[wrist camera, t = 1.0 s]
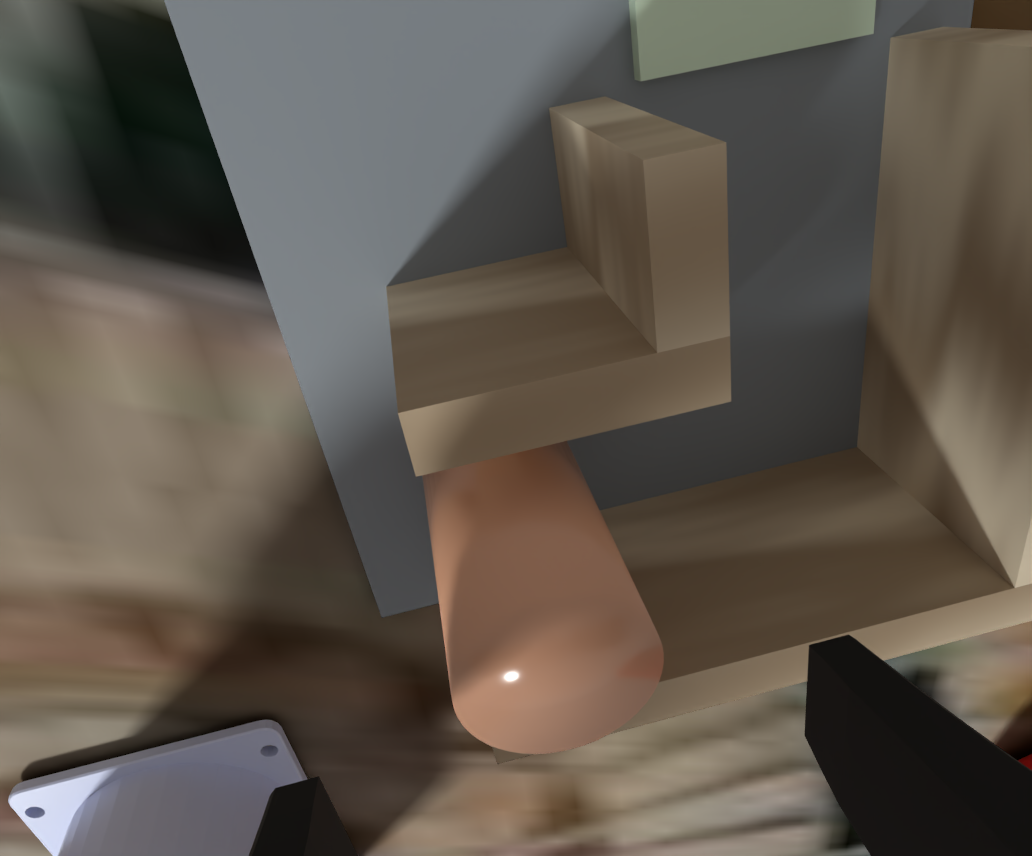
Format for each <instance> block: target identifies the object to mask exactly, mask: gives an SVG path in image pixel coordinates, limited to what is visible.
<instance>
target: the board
mask: <svg viewBox="0 0 1032 856" xmlns="http://www.w3.org/2000/svg"><path fill="white" fill-rule="evenodd" d="M164 1H165V4H166V7H167V10H168V13H169V16H170V18H171V21H172V24H173V27H174V30H175V33H176V35H177V38H178V41H179V44H180V47H181V50H182V52H183V55H184V58H185V61H186V64H187V67H188V69H189V72H190V75H191V78H192V81H193V84H194V86H195V89H196V92H197V95H198V98H199V101H200V103H201V106H202V109H203V112H204V115H205V118H206V121H207V123H208V126H209V129H210V132H211V135H212V138H213V140H214V143H215V146H216V149H217V152H218V155H219V157H220V160H221V163H222V166H223V169H224V172H225V174H226V177H227V180H228V183H229V186H230V189H231V191H232V194H233V197H234V200H235V203H236V206H237V208H238V211H239V214H240V217H241V220H242V223H243V225H244V228H245V231H246V234H247V237H248V240H249V242H250V245H251V248H252V251H253V254H254V257H255V260H256V262H257V265H258V268H259V271H260V274H261V277H262V279H263V282H264V285H265V288H266V291H267V294H268V296H269V299H270V302H271V305H272V308H273V311H274V313H275V316H276V319H277V322H278V325H279V328H280V330H281V333H282V336H283V339H284V342H285V345H286V347H287V350H288V353H289V356H290V359H291V362H292V364H293V367H294V370H295V373H296V376H297V379H298V381H299V384H300V387H301V390H302V393H303V396H304V399H305V401H306V404H307V407H308V410H309V413H310V416H311V418H312V421H313V424H314V427H315V430H316V433H317V435H318V438H319V441H320V444H321V447H322V450H323V452H324V455H325V458H326V461H327V464H328V467H329V469H330V472H331V475H332V478H333V481H334V484H335V486H336V489H337V492H338V495H339V498H340V501H341V503H342V506H343V509H344V512H345V515H346V518H347V520H348V523H349V526H350V529H351V532H352V535H353V538H354V540H355V543H356V546H357V549H358V552H359V555H360V557H361V560H362V563H363V566H364V569H365V572H366V574H367V577H368V580H369V583H370V586H371V589H372V591H373V594H374V597H375V600H376V603H377V606H378V608H379V611H380V614H381V617H382V618H383V617H387V616H390V615H394V614H398V613H402V612H406V611H410V610H414V609H418V608H422V607H426V606H430V605H434V604H438V603H439V599H438V591H437V584H436V576H435V568H434V561H433V553H432V546H431V538H430V531H429V523H428V515H427V508H426V500H425V493H424V485H423V478H422V476H417V477H416V475H415V472H414V468H413V465H412V461H411V458H410V454H409V451H408V447H407V444H406V440H405V437H404V433H403V429H402V426H401V422H400V419H399V415H398V409H397V398H396V388H395V377H394V366H393V355H392V345H391V334H390V323H389V313H388V302H387V291H386V287H387V286H392V285H396V284H401V283H405V282H410V281H414V280H419V279H424V278H428V277H433V276H437V275H442V274H446V273H451V272H455V271H460V270H465V269H469V268H474V267H478V266H483V265H487V264H492V263H496V262H501V261H505V260H510V259H515V258H519V257H524V256H528V255H533V254H537V253H542V252H546V251H551V250H556V249H560V248H565V247H567V241H566V234H565V226H564V218H563V211H562V203H561V196H560V188H559V180H558V173H557V165H556V158H555V150H554V142H553V135H552V127H551V120H550V112H549V108H551V107H556V106H561V105H566V104H570V103H575V102H580V101H585V100H590V99H595V98H600V97H604V96H606V97H608V98H611V99H614V100H616V101H619V102H621V103H624V104H627V105H629V106H632V107H635V108H637V109H640V110H642V111H645V112H648V113H650V114H653V115H656V116H658V117H661V118H663V119H666V120H669V121H671V122H674V123H677V124H679V125H682V126H684V127H687V128H690V129H692V130H695V131H698V132H700V133H703V134H705V135H708V136H711V137H713V138H716V139H719V140H721V141H724V142H726V152H727V204H728V255H729V307H730V359H731V402H727V403H723V404H719V405H715V406H710V407H706V408H702V409H698V410H694V411H689V412H685V413H681V414H677V415H673V416H668V417H664V418H660V419H656V420H652V421H648V422H643V423H639V424H635V425H631V426H627V427H622V428H618V429H614V430H610V431H606V432H602V433H597V434H593V435H589V436H585V437H581V438H576V439H572V440H568V441H567V442H568V444H569V447H570V449H571V451H572V453H573V455H574V457H575V459H576V461H577V464H578V466H579V468H580V470H581V472H582V474H583V476H584V478H585V480H586V483H587V485H588V487H589V489H590V491H591V493H592V495H593V497H594V499H595V502H596V504H597V506H598V508H599V510H604V509H608V508H612V507H616V506H620V505H624V504H628V503H632V502H636V501H640V500H644V499H648V498H652V497H656V496H660V495H664V494H669V493H673V492H677V491H681V490H685V489H689V488H693V487H697V486H701V485H705V484H709V483H713V482H717V481H721V480H725V479H729V478H733V477H737V476H742V475H746V474H750V473H754V472H758V471H762V470H766V469H770V468H774V467H778V466H782V465H786V464H790V463H794V462H798V461H802V460H806V459H810V458H815V457H819V456H823V455H827V454H831V453H835V452H839V451H843V450H847V449H851V448H855V447H857V441H858V429H859V416H860V404H861V392H862V380H863V368H864V356H865V343H866V331H867V319H868V307H869V295H870V282H871V270H872V258H873V246H874V234H875V221H876V209H877V197H878V185H879V173H880V160H881V148H882V136H883V124H884V112H885V99H886V87H887V75H888V63H889V51H890V39H891V37H896V36H901V35H906V34H911V33H916V32H920V31H925V30H930V29H935V28H940V27H959V28H970V27H971V20H972V12H973V4H974V0H876V8H875V22H874V34H870V35H865V36H860V37H855V38H850V39H845V40H841V41H836V42H831V43H826V44H821V45H816V46H811V47H806V48H801V49H797V50H792V51H787V52H782V53H777V54H772V55H767V56H762V57H758V58H753V59H748V60H743V61H738V62H733V63H728V64H723V65H719V66H714V67H709V68H704V69H699V70H694V71H689V72H684V73H679V74H675V75H670V76H665V77H660V78H655V79H650V80H645V81H638V80H635V78H634V65H633V52H632V39H631V25H630V12H629V0H164Z"/></svg>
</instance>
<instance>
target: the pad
mask: <svg viewBox="0 0 1032 856" xmlns="http://www.w3.org/2000/svg"><path fill="white" fill-rule="evenodd" d="M875 8H876V0H629V12H630V25H631V39H632V52H633V65H634V78H635V80H638V81H645V80H650V79H655V78H660V77H665V76H670V75H675V74H679V73H684V72H689V71H694V70H699V69H704V68H709V67H714V66H719V65H723V64H728V63H733V62H738V61H743V60H748V59H753V58H758V57H762V56H767V55H772V54H777V53H782V52H787V51H792V50H797V49H801V48H806V47H811V46H816V45H821V44H826V43H831V42H836V41H841V40H845V39H850V38H855V37H860V36H865V35H870V34H874V22H875Z"/></svg>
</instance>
